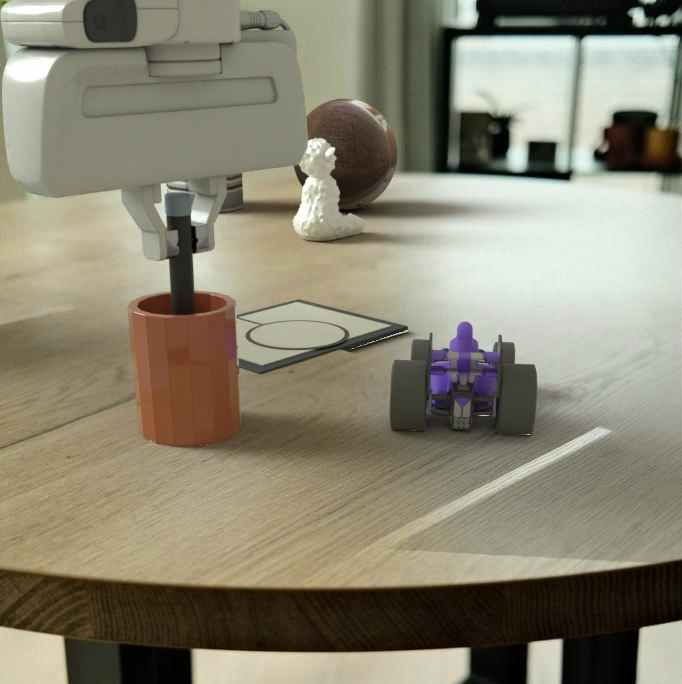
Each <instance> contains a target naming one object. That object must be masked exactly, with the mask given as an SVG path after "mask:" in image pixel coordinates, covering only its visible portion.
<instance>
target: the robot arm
mask: <svg viewBox="0 0 682 684" xmlns="http://www.w3.org/2000/svg"><path fill="white" fill-rule="evenodd" d="M240 5H241V3H240V0H9V1H7V2H6V3H4V4H3V6H2V7H1V9H0V22H1V23H0V24H1V29H2V33H3V37H4V38H5V40H6V42H7V43H9V44H10V45H12V46H16V47H21V48H19V49H17V50H16V51H15V52H13V53H12V54H11V55H10V57H9V58H8V59H7V61H6V64H5V65H4V69H3V74H2V79H1V103H2V106H1V108H2V122H3V125H2V126H3V134H4V142H5V143H4V144H5V153H6V161H7V165H8V169H9V173H10V175H11V176H12V178H13V179H14V180H15V182H16V183H17V184H18V186H20V188H21V189H22V190H23V191H24V192H25V193H28V194H32V195H35V196H39V197H44V198H52V199H59V198H60V199H61V198H67V197H76V196H83V195H89V194H96V193H97V194H98V193H103V192H104V193H105V192H111V191H119V190H120V193H121V202H122V204H123V206H124V207H125V209H126V211H127V212H128V214H129V215H130V217H131V218H132V220H133V222H134V223H135V225H136V226H137V228H138V229H139V230H140V234H141V244H142V253H143V256H144V258H146V259H147V260H150V261H155V262H161V261H163V262H164V261H166V260H169V259H171V258H176V257H178V255H179V247H178V246H177V243H178V230H177V229H172V228H167V226H166V225H165V223H164V221H163V219H162V217H161V215H160V214H159V211H158V210H157V208H156V206H155V205H156V204H161V203H162V201H163V200H162V184H166V183H170V182H178V181H185V180H188V185H189V191H190V192H196V194H195V198H194V201H193V204H192V208H191V210H192V213H191V228H192V249H193V255H197V254H202V253H207V252H212V251H213V250H215V246H216V243H215V239H216V238H215V224H214V223H216V221H217V219H218V218H219V214H220V213H219V212H220V209H221V207H222V205H223V202H224V200H225V197H226V195H227V181H226V175H229V174H236V173H242V174H243V173H250V172H257V171H264V170H273V169H280V168H286V167H294V165H298V164H300V162H301V161H302V159H303V156H304V154H305V152H306V150H307V147H308V130H307V109H306V108H307V107H306V100H305V99H306V98H305V91H304V84H303V77H302V72H301V67H300V64H299V59H298V53H297V51H298V50H297V48H298V47H297V39H296V34H295V32H294V30H292V29H291V27H290V25H289V23H288V22H286V21H285V19H283V18H281V15H280V14H279V13H278V12H277V11H275V10H271V9H261V10H257V11H251V10H245V9H241V6H240ZM279 27H280V28H282V29H278V28H279ZM255 29H256V30H255Z"/></svg>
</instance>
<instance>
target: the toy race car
mask: <svg viewBox="0 0 682 684" xmlns="http://www.w3.org/2000/svg"><path fill="white" fill-rule="evenodd" d="M433 334H434V333H433V332H429V335H428V336H429V338H428V339H423V338H421V339H420V338H419V339H418V338H414V339H413V340H412V342H411V347H410V348H411V350H410V359H394V360H393V363H392V367H391V375H390V387H389V388H390V389H389V427H390V430H391V429H392V430H391V431H403V430H416V431H415V432H424V431H425V430H426V427H427V415H428V416H430V415H433V414H446V415H445V416H447V417H448V419H449V422H450V426H451V430H461V431H463V430H465V431H470V430H471V428H472V425H473V424H472V423H473V420H474V418H475V417H478V415H491V416H492V418H495V430H497V431H496V433H497V432H498V433H500V434H499V435H503V434H531V435H533V431H534V429H535V421H536V415H537V401H538V372H537V371H538V370H537V367H536V365H535V364H533V363H516V345H515V343H514V341H503V336H502V334H498V337H497V341H494V344H493V346H492V347H493V348H492V351H486V350H484V349H482V348H479V341H478V340H477V339H475V338H474V329H473V325H472V323H470V322H468V321H461V322H459V324H458V325H457V327H456V336H455V337H454V338H452V339H451V340H450V341H449V348H448V347H444V348H441V349H433V346H434V345H433V339H434V338H433V336H434V335H433ZM431 413H432V414H431ZM424 429H425V430H424ZM498 433H497V434H498Z"/></svg>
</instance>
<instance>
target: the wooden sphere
mask: <svg viewBox="0 0 682 684" xmlns="http://www.w3.org/2000/svg"><path fill="white" fill-rule="evenodd" d="M306 116H307V130H308V141H309V140H312V139H314V138H317V139H319V138H322V139H325V140H326V141H327V143H329V144H330V145H331V147H334V148H335V151H334V156H336V158H337V159H336V160H335V168H334V169H333V170H332V171H331V173H330V175H331V177H333V179H335V180H336V185H337V186H338V189H339V191H340V195H339V198H340V200H339V202H338V207H339V211H340V210H341V211H342V210H344V211H348V210H349V211H350V210H355V209H359V208H363V207H365V206H367V205H369V204H370V203H373V202H374V201H375V200H377V199H378V198H379V197H380V196H381V195H382V194H383V193H384V192H385V191H386V189H387V188H388V186H389V185H390V183H391V182H392V179H393V177H394V175H395V172H396V168H397V163H398V145H397V140H396V136H395V134H394V131H393V129H392V126H391V125H390V124H389V122H388V120H387V119H386V118H385V117H384V115H383V114H382V113H381V112H380V111H379V110H378V109H377V108H375V107H373V106H372V105H370V104H368V103H367V102H364V101H361V100H358V99H354V98H336V99H332V100H329V101H326V102H323V103H322V104H320V105H318V106H317V107H315V108H314V109H312V110H311V111H310V112H309V113H308V114H306ZM293 169H294V173H295V175H296V178H297V180H298V182H299V184H300V185H301V187H302V188H303V186H304V185H305V182H306V179H307V178H308V177H310V176H308V175H307V174H306V173H305V172H303V171H302V169H301V167H300V166H299V164H298V165H294V166H293Z"/></svg>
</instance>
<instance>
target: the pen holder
mask: <svg viewBox="0 0 682 684" xmlns="http://www.w3.org/2000/svg"><path fill="white" fill-rule="evenodd" d="M194 293H195V314H191V315H172V306H171V290H169V291H161V292H160V291H159V292H154V293H150V294H146V295H142V296H139V297H137V298H135V299H133V300H131V301H129V303H128V305H127V316H128V327H129V335H130V336H129V338H130V348H131V349H130V350H131V360H132V370H133V380H134V381H133V382H134V393H135V401H136V402H135V403H136V414H137V424H138V431H139V433H140V436H141V437H143V438H144V439H145V440H146V441H148V442H150V443H153V444H156V445H160V444H162V445H161V446H165V445H167V446H166V447H173V448H174V447H175V448H193V447H201V446H200V445H203V446H207V445H206V444H209V445H213V444H212V443H214V444H217V442H218V443H221V442H224V441H227V440H229V439H231V438H233V437H235V436H236V435H237V434H238V433H239V432H240V431H241V428H242V404H241V403H242V402H241V384H240V383H241V382H240V367H239V357H238V335H237V315H238V314H237V301H236V300H235V298H233V297H231V295H228V294H224V293H220V292H215V291H206V290H197V289H196V290H195V289H194ZM236 433H237V434H236ZM230 437H231V438H230ZM228 438H229V439H228ZM226 439H227V440H226ZM220 441H221V442H220ZM188 446H189V447H188Z"/></svg>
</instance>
